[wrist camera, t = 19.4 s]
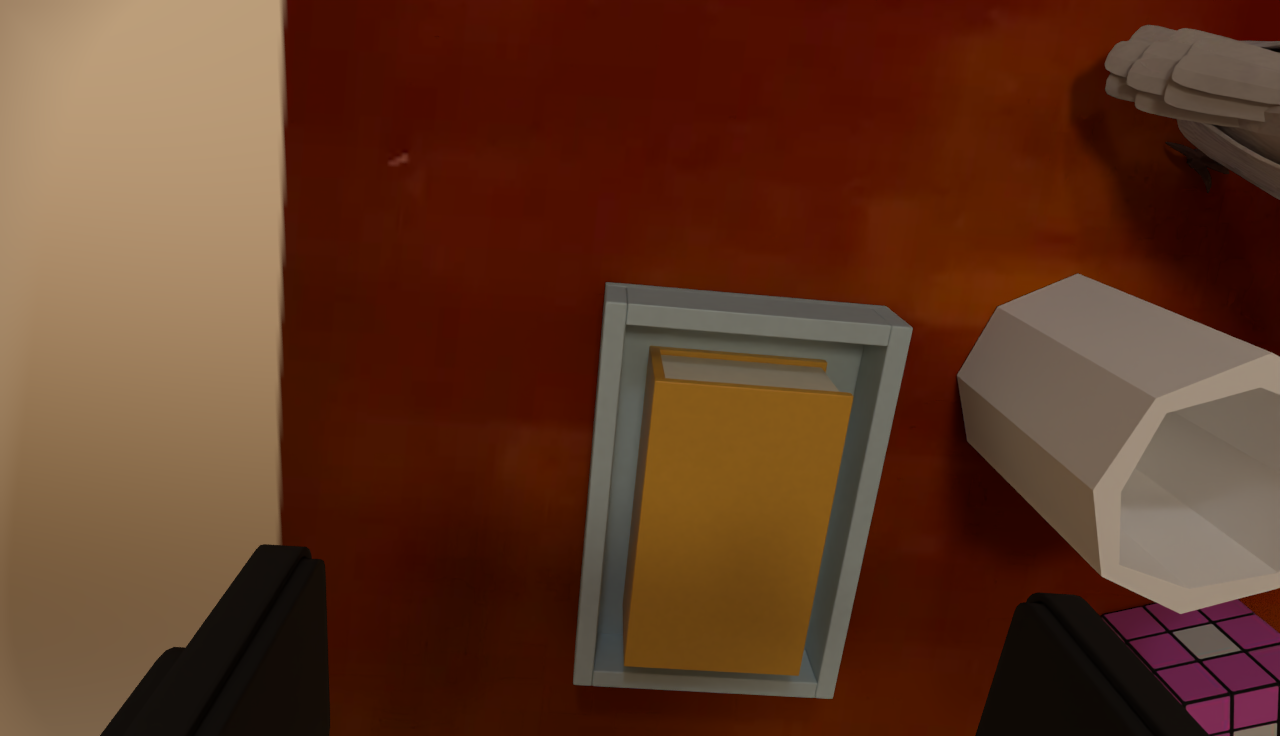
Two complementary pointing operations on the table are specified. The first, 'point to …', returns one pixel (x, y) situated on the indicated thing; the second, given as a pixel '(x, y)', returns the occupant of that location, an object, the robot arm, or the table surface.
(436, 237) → the table surface
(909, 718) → the table surface
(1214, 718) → the puzzle toy
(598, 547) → the tray
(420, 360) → the table surface
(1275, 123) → the bird
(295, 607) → the robot arm
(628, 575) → the book
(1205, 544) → the mug
